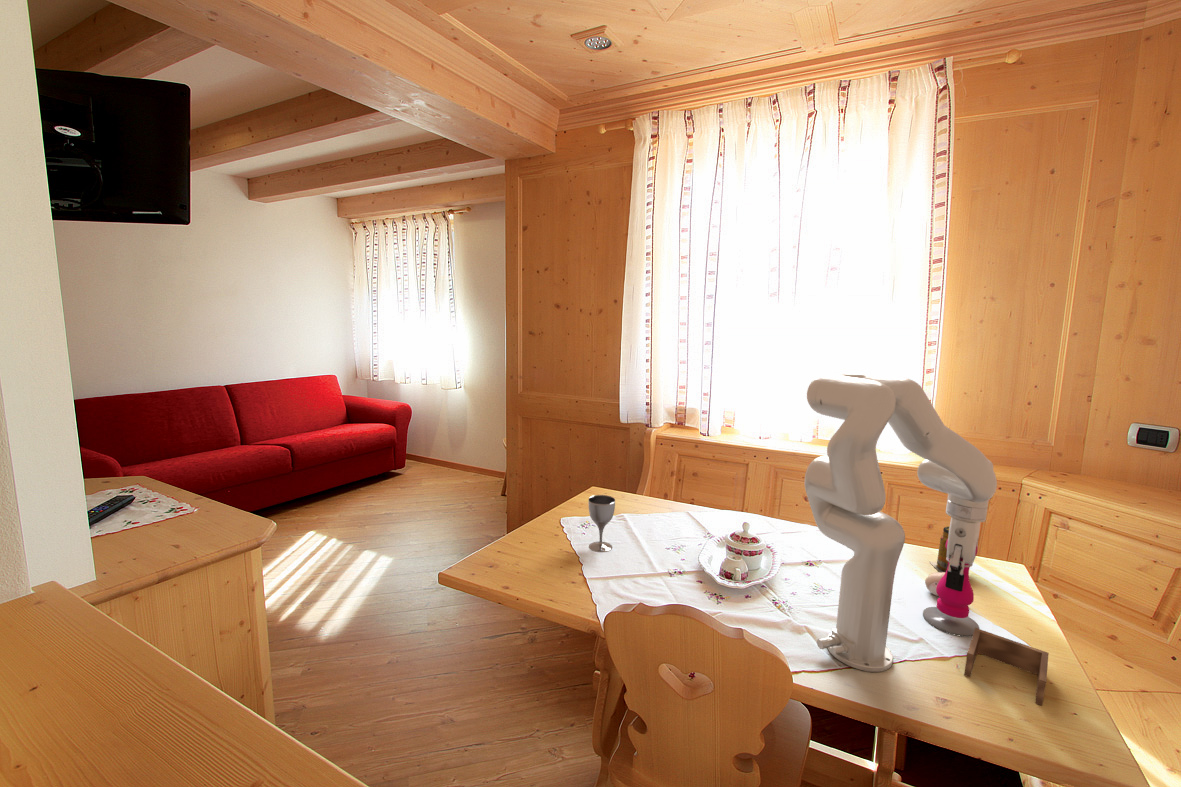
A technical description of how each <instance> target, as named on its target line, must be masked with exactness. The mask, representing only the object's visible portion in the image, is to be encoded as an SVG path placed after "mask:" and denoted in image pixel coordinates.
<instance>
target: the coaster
mask: <svg viewBox="0 0 1181 787" xmlns="http://www.w3.org/2000/svg"><path fill="white" fill-rule="evenodd" d="M922 617H923V619H924V621H925V622H926V623H928V624H929V625H930V624H931V625H930V626H932V627H933V626H934V628H935V629H937V630H939V629H940V630H939V631H941V630H942V631H941V632H944V633H946V632H948V633H947V634H949V633H950V635H953V634H955V635H954V636H957V635H960V636H959V637H964V636H971V637H973V633H974V630H975V628H978V629H980V626H979V623H978V622H976V621H975V620H974V619H973V618H971V617H970V616H968V617H966V618H956V617H952V616H949V615H946V614H944V613H942V612H941V611H940V610H938V608H937V606H929V607H926V608H925V609H923V612H922Z"/></svg>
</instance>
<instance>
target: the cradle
mask: <svg viewBox="0 0 1181 787" xmlns="http://www.w3.org/2000/svg"><path fill="white" fill-rule="evenodd" d="M966 653H967V654H966V660H965V665H964V666H965V667H964V673H963V676H965V677H968V678H971V675H972V672H973V668H974V666H975V663H976V658H977V655H978V653H979V655H981V656H984V657H987V658H989V659H993V660H995V661H997V662H1000V663H1003V664H1006V665H1009V666H1011V667H1014V668H1016V669H1019V670H1022V671H1025V672H1028V673H1029V674H1033V675H1036V676H1037V681H1036V691H1035V700H1034V704H1036V705H1039V706H1041V707H1043V702H1044V697H1045V696H1044V695H1045V692H1046V686H1047V681H1048V680H1047V678H1048V662H1049V655H1050V654H1049V652H1047V651H1044V650H1042V649H1038V648H1036V647H1033V646H1030V645H1028V644H1027V645H1026V644H1024V643H1021V642H1018V641H1016V640H1011V638H1010V639H1009V638H1006V637H1004V636H1000V635H998V634H995V633H992V632H989V631H986V630H983V629H980V628H979V629H978V628H975V630H974V633H973V636H971V639H970V644H969V646H968V650H967V652H966Z"/></svg>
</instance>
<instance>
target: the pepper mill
mask: <svg viewBox="0 0 1181 787" xmlns="http://www.w3.org/2000/svg"><path fill="white" fill-rule="evenodd" d="M960 532H961V531H960ZM961 533H962V532H961ZM947 544H948V539H947V541H946V549H947ZM977 554H978V548H977V546H976V553H975V556H977ZM946 560H947V561H948V567H947V570H948V569H949V563H950V559H948V558H946ZM960 560H961V561H963V559H962V558H960ZM973 564H974V563H973ZM973 564H971V565H968V563H965V566H964V572H963V574H964V575H965V576H964V583H963V590H962V591H961V592H960V591H957V590H954V589H950V588H947V587H946V586H945V584H946V577H947V571H946V573H945V574H944V576H943V577H942V578H941V579H940V581H939V583H938V585H937V588H936V592H937V594H938V596H937V597H938V598H937V600H936V607H937V608H938V610H940V611H941V612H942V613H944V614H946V615H949V616H952V617H956V618H966V617H969V614H970V607H969V606H971V604H973V603H974V600H975V594H974V590H973V587H972V584H971V582H970V581H971V580H970V579H969V577H970V575H969V574H970V569H971V567H972V566H973ZM959 566H960V567H961V564H960V563H959Z"/></svg>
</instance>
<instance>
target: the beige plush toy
mask: <svg viewBox="0 0 1181 787" xmlns="http://www.w3.org/2000/svg"><path fill="white" fill-rule="evenodd" d="M944 574H945V572H942V573H940V572H939V571H937V572H933V573H931V574H929V575H928V576H927V577H926V578H925V580H924V581H925V582H924V585H925V587H926V589H927V590H928V591H929V592H930V593H932V594H933V595H934V596H936V597H939V596H938V594H937V592H936V588H937V585H938V583H939V581H940V579H941V578H942V577H943V576H944Z"/></svg>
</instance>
